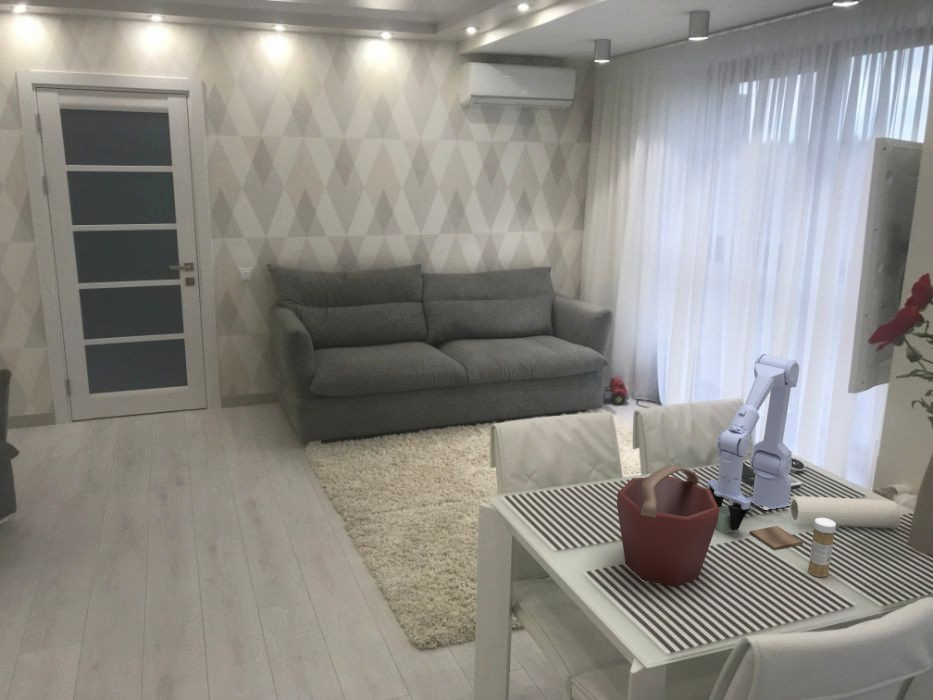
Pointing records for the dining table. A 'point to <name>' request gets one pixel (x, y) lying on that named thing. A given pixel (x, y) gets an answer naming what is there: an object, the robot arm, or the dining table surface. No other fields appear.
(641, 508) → the bucket
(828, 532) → the sprinkles bottle
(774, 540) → the walnut board
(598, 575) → the dining table surface
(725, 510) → the green cube
